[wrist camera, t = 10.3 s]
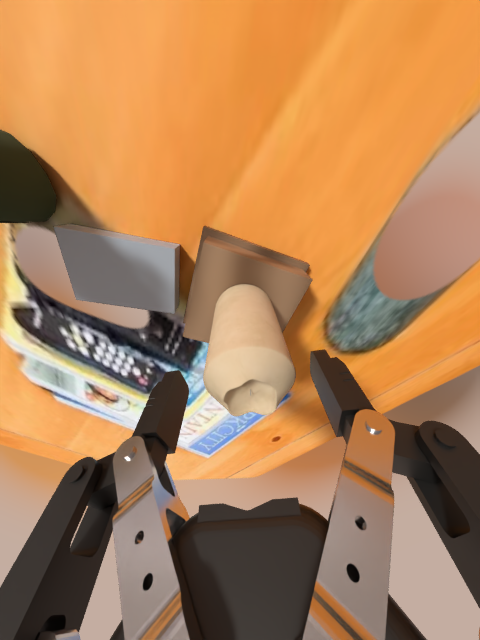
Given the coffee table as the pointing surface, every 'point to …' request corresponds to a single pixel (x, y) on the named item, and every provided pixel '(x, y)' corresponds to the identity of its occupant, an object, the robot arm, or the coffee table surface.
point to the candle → (247, 353)
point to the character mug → (23, 184)
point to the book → (121, 268)
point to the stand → (240, 279)
